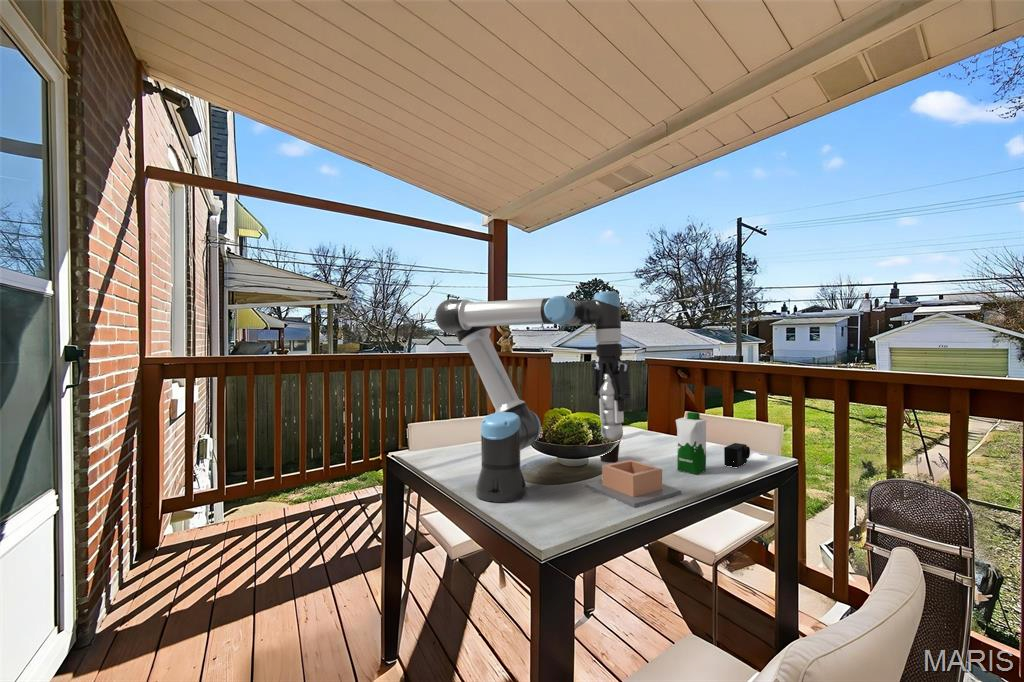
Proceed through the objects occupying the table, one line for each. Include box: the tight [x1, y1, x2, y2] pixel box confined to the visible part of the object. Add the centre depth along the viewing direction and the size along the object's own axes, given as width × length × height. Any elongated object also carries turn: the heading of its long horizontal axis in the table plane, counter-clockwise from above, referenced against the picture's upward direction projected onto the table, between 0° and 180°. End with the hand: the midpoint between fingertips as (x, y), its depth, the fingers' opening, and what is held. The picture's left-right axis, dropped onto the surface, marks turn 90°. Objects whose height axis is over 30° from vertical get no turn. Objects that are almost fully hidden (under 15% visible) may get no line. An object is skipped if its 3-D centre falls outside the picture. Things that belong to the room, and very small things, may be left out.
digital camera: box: [723, 442, 751, 468], centre depth 157 cm, size 10×5×7 cm, turn 133°
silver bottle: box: [599, 374, 624, 441], centre depth 128 cm, size 6×7×20 cm
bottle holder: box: [584, 459, 682, 508], centre depth 130 cm, size 20×20×7 cm
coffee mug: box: [599, 441, 621, 464], centre depth 165 cm, size 12×9×10 cm
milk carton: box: [675, 411, 707, 475], centre depth 150 cm, size 9×9×20 cm
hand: (611, 420), depth 127 cm, fingers closed on silver bottle, 6 cm apart
